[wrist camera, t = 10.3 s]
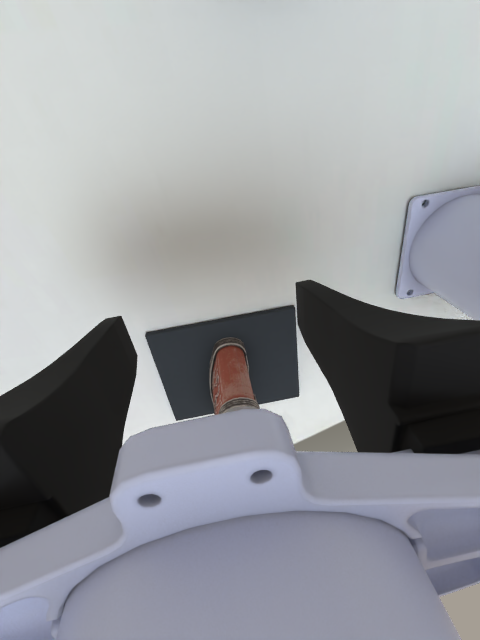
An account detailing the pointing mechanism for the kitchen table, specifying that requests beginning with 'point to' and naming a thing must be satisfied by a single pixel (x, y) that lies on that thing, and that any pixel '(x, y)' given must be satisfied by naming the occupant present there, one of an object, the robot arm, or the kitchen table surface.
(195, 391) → the mat
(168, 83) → the kitchen table surface
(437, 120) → the kitchen table surface
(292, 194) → the kitchen table surface
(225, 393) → the lighter
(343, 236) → the kitchen table surface
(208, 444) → the robot arm
